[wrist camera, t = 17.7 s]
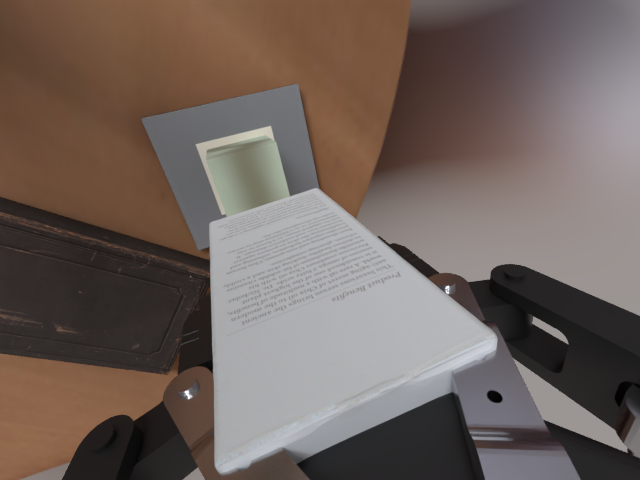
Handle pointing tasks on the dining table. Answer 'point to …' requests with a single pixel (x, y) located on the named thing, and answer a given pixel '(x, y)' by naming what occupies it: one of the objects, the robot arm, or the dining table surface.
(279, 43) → the dining table surface
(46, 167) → the dining table surface
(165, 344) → the hardcover book
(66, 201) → the dining table surface
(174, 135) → the base plate
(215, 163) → the green block
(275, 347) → the skincare box
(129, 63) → the dining table surface
